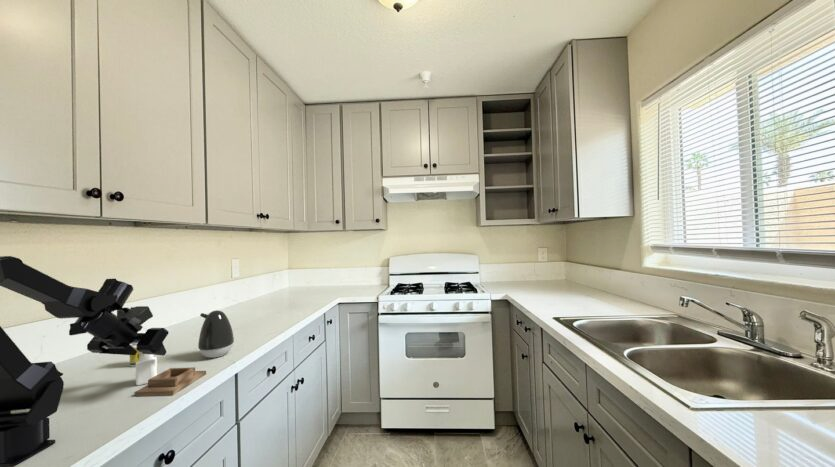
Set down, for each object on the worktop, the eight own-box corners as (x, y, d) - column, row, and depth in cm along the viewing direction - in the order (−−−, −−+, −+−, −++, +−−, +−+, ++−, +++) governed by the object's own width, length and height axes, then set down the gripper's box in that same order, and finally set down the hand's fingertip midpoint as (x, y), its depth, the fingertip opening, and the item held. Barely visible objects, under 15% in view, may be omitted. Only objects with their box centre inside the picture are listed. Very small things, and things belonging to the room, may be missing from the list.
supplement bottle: (137, 367, 97) (137, 340, 97) (125, 366, 98) (125, 340, 98) (153, 361, 102) (152, 335, 102) (142, 360, 103) (141, 335, 103)
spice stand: (173, 395, 79) (173, 383, 79) (134, 396, 79) (134, 384, 79) (206, 374, 91) (206, 363, 91) (172, 374, 91) (172, 364, 91)
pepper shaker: (154, 382, 86) (153, 348, 86) (135, 386, 84) (134, 351, 84) (157, 377, 90) (156, 344, 90) (139, 380, 88) (138, 347, 88)
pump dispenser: (212, 349, 111) (211, 307, 111) (240, 349, 111) (239, 306, 111) (190, 361, 101) (189, 314, 101) (221, 360, 100) (220, 314, 100)
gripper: (161, 298, 82) (196, 327, 93) (98, 299, 84) (140, 327, 95) (131, 338, 74) (173, 364, 85) (63, 338, 76) (113, 364, 87)
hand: (150, 353), depth 88 cm, fingers open, 9 cm apart
